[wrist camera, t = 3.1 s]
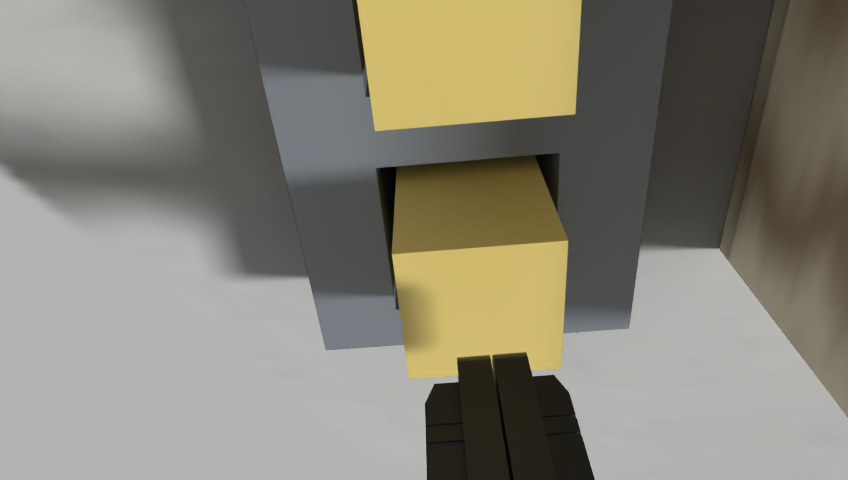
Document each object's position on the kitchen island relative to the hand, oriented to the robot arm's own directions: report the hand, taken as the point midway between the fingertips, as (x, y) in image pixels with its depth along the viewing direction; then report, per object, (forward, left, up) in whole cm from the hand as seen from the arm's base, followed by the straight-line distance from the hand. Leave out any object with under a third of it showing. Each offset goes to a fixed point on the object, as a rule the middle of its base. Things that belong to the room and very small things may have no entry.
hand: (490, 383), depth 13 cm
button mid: (-7, 0, -7) cm, 10 cm away
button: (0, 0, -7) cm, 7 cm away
